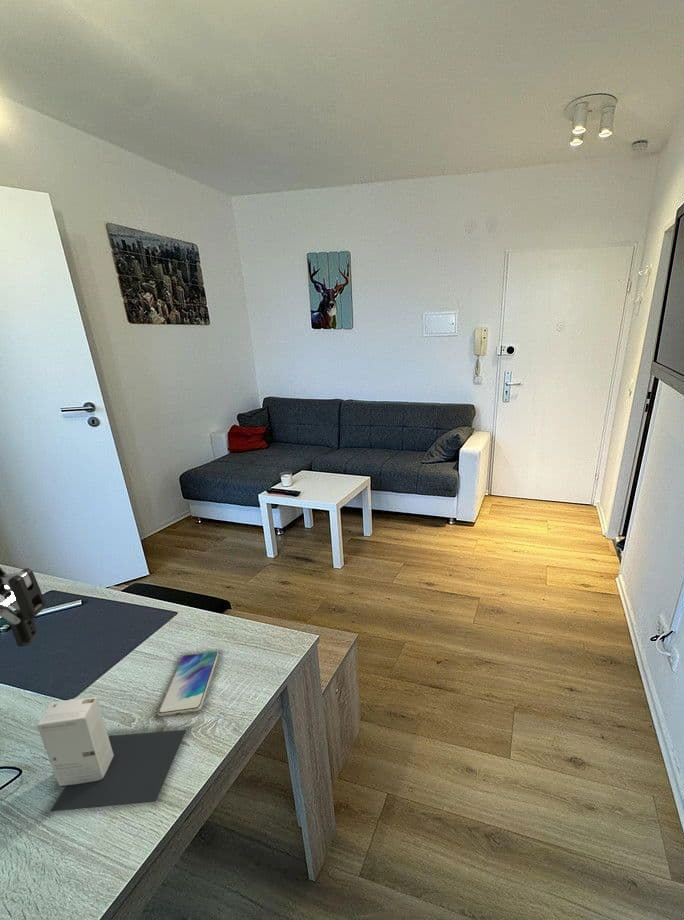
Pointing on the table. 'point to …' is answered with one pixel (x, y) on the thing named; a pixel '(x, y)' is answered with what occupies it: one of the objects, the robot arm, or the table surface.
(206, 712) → the table surface
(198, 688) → the smartphone
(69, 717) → the cosmetic box
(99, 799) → the mat
